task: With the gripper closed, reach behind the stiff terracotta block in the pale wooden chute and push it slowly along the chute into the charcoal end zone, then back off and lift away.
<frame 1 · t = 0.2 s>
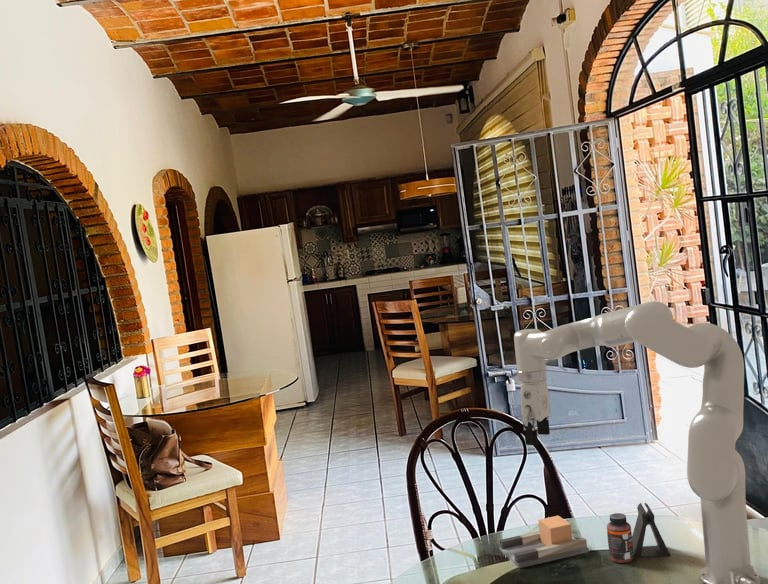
hand: (538, 439, 196), 30 cm above the table, tool pointing down, fingers open, 9 cm apart
dark a-frame stand: (649, 553, 190), on the table
jammed block: (555, 532, 198), point 4 cm above the table, slide at 0.0 cm
supplement bottle: (621, 559, 188), on the table
chute: (543, 550, 198), on the table
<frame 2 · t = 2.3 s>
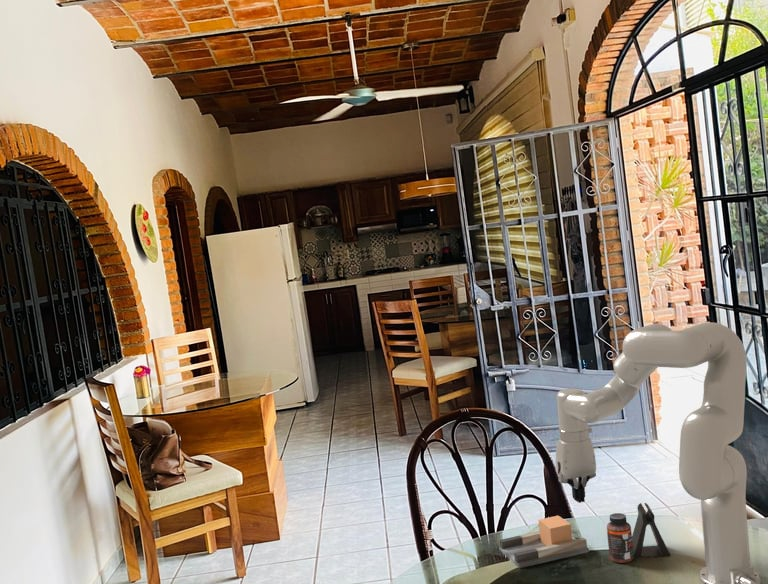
hand: (579, 500, 201), 11 cm above the table, tool pointing down, fingers closed
nothing on the table moved.
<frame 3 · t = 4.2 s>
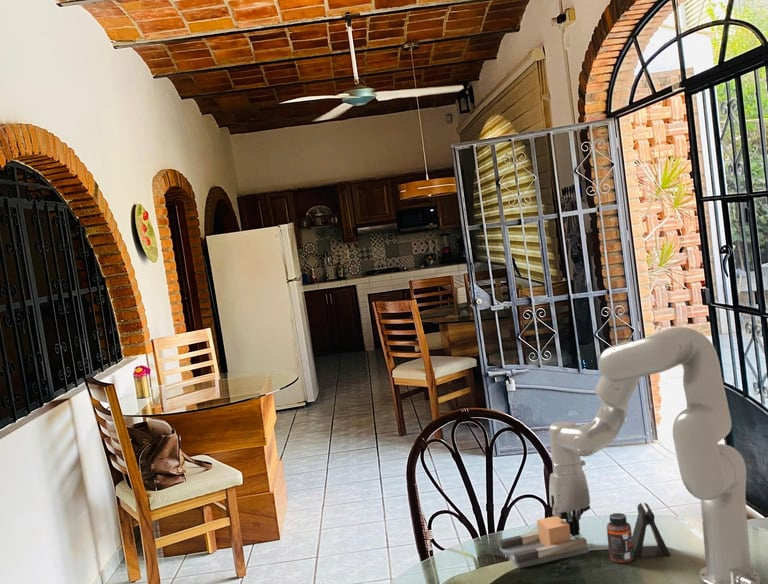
hand: (573, 533, 200), 3 cm above the table, tool pointing down, fingers closed
jammed block: (554, 533, 198), point 4 cm above the table, slide at 0.4 cm, touching gripper
everything else where it was.
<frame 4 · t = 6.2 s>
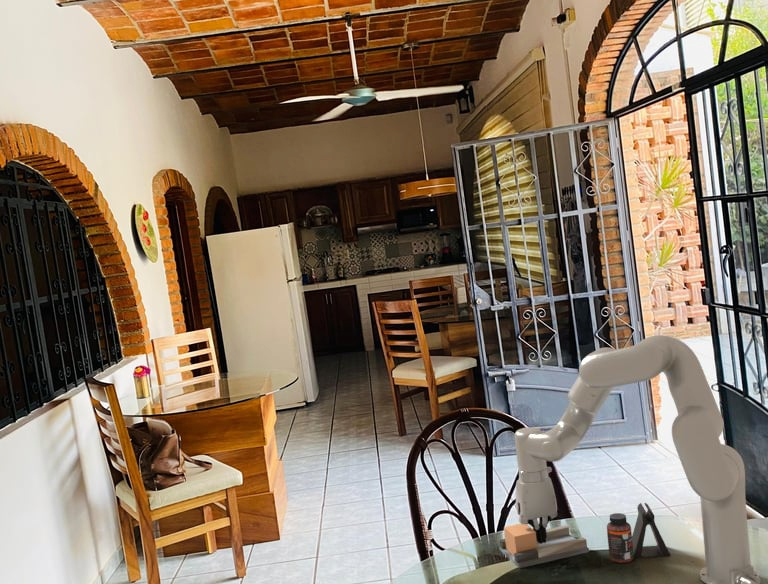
hand: (540, 541, 198), 3 cm above the table, tool pointing down, fingers closed
jammed block: (520, 540, 196), point 4 cm above the table, slide at 10.2 cm, touching gripper
everything else where it was.
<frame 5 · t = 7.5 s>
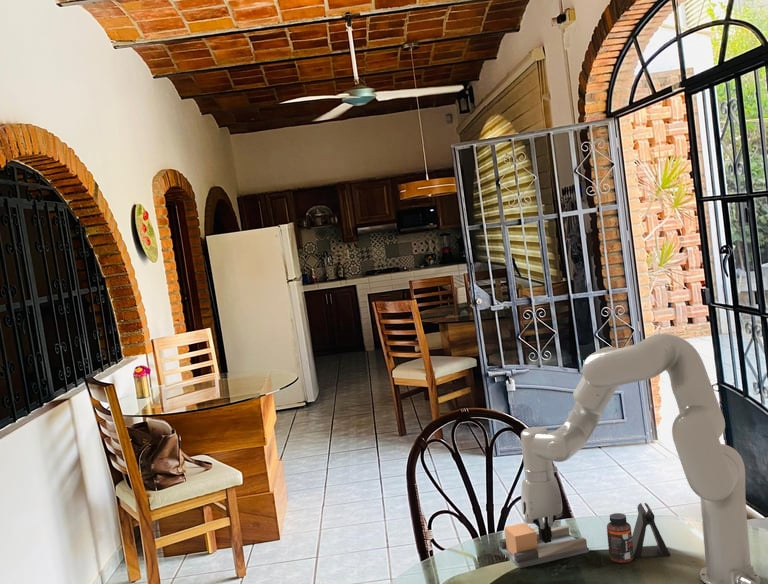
hand: (545, 540, 198), 2 cm above the table, tool pointing down, fingers closed
jammed block: (521, 540, 196), point 4 cm above the table, slide at 10.0 cm
everything else where it was.
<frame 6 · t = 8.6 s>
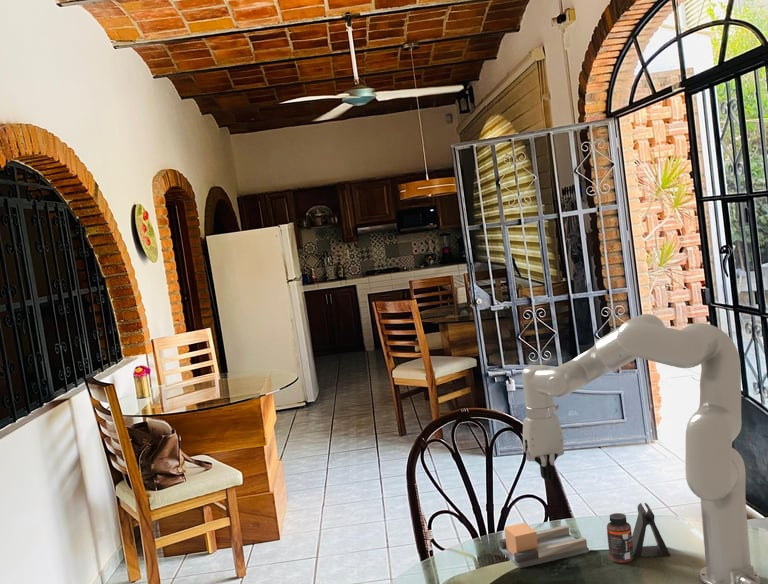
hand: (547, 479, 197), 19 cm above the table, tool pointing down, fingers closed
nothing on the table moved.
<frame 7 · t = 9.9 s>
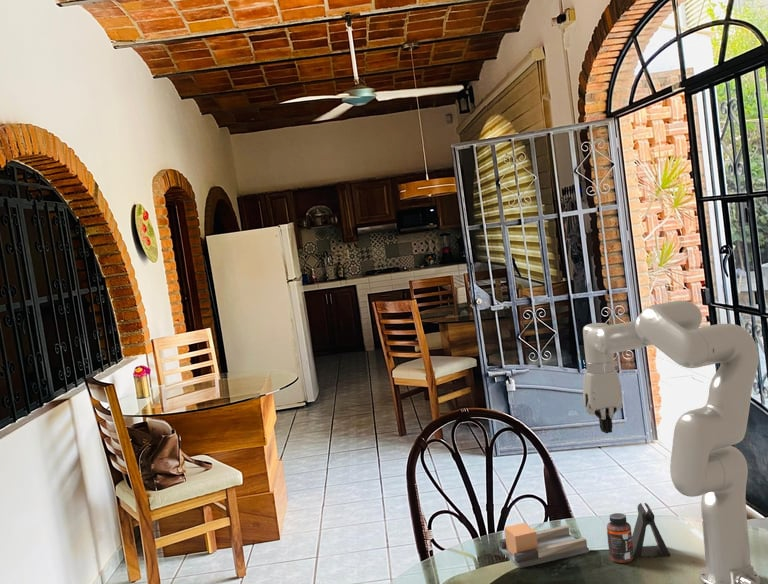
hand: (606, 431, 207), 27 cm above the table, tool pointing down, fingers closed
nothing on the table moved.
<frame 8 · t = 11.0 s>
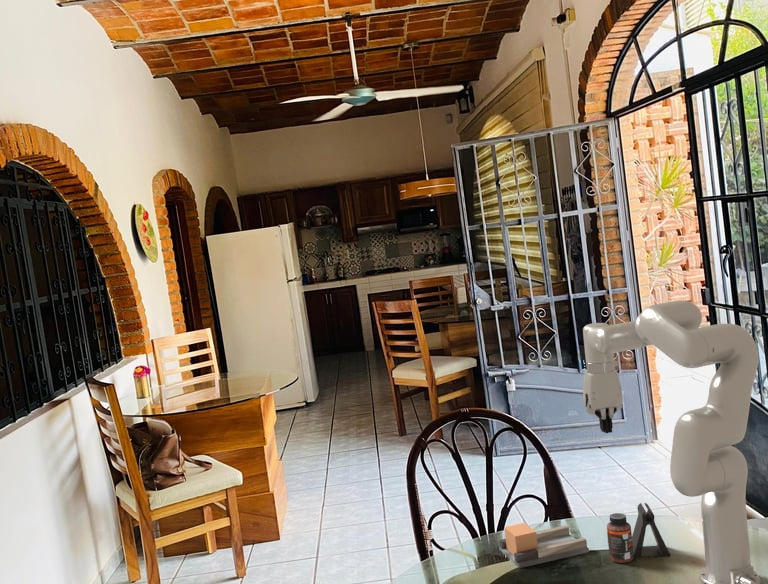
hand: (606, 431, 207), 27 cm above the table, tool pointing down, fingers closed
nothing on the table moved.
at the end: jammed block slide at 10.0 cm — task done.
